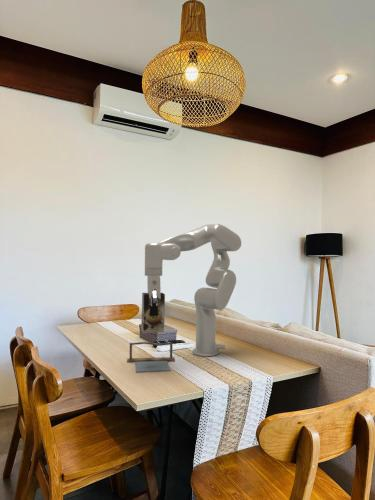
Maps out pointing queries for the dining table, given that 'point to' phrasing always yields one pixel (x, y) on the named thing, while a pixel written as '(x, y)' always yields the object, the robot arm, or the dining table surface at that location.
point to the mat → (152, 366)
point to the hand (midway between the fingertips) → (153, 313)
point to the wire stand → (133, 360)
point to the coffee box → (152, 322)
